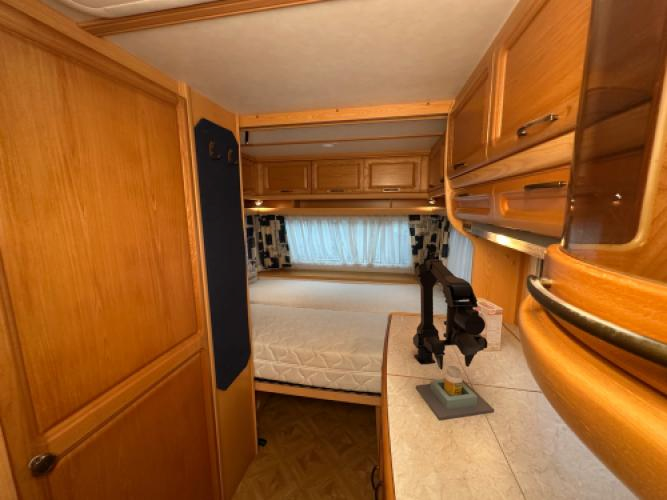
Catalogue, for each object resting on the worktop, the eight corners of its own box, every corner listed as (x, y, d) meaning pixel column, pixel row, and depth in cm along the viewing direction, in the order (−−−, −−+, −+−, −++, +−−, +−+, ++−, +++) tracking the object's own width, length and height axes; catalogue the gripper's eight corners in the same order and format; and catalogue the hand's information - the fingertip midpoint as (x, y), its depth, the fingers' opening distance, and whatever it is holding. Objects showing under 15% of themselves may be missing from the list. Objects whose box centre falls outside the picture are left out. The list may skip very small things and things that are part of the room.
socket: (415, 388, 94) (416, 377, 94) (462, 382, 97) (463, 371, 97) (439, 420, 80) (439, 408, 79) (493, 412, 82) (494, 400, 82)
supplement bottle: (450, 389, 92) (451, 362, 91) (464, 398, 87) (466, 370, 86) (439, 394, 89) (441, 367, 88) (454, 404, 85) (456, 376, 83)
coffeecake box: (465, 336, 133) (468, 297, 130) (480, 335, 133) (482, 297, 130) (485, 351, 118) (487, 308, 115) (500, 351, 118) (503, 308, 116)
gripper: (443, 334, 75) (441, 386, 77) (502, 329, 78) (499, 379, 80) (423, 319, 86) (422, 365, 88) (476, 315, 89) (473, 359, 91)
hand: (454, 367), depth 87 cm, fingers open, 9 cm apart
